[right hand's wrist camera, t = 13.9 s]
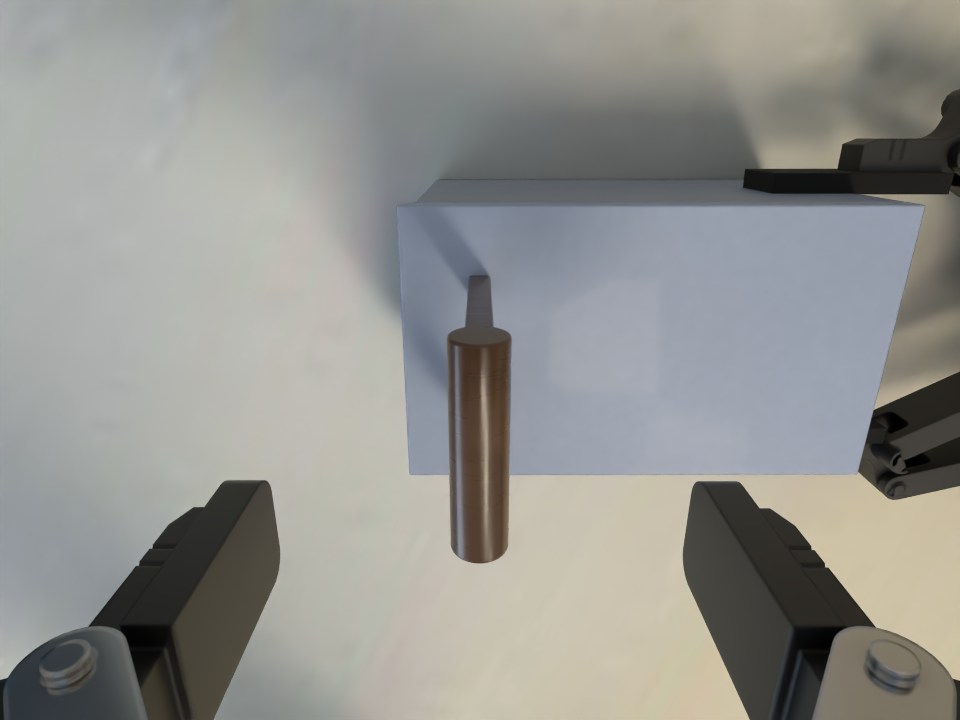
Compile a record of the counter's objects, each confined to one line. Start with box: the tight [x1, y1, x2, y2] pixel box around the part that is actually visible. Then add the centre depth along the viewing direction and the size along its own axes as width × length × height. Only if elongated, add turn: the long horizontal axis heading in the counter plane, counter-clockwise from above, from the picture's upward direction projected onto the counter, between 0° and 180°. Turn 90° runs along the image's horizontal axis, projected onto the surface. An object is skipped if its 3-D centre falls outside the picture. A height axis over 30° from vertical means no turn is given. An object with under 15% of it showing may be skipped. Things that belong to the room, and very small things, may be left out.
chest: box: [416, 179, 903, 203], centre depth 26 cm, size 16×10×10 cm, turn 90°
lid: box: [397, 202, 925, 563], centre depth 17 cm, size 16×10×8 cm, turn 90°
